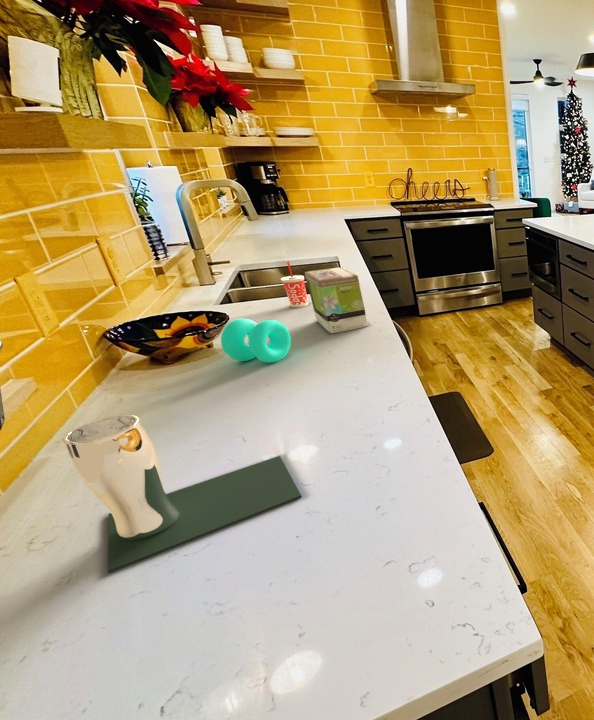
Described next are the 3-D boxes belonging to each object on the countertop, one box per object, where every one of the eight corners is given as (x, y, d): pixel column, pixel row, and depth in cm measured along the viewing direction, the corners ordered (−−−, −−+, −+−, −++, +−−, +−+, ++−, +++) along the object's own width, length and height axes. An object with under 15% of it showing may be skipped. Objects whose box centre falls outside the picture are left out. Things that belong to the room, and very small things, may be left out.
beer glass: (177, 500, 71) (135, 408, 65) (189, 522, 67) (145, 426, 61) (110, 527, 66) (57, 430, 60) (118, 552, 62) (62, 451, 56)
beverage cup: (284, 308, 155) (271, 263, 149) (295, 302, 161) (282, 259, 155) (305, 308, 155) (292, 263, 150) (315, 302, 161) (303, 259, 155)
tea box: (370, 326, 140) (358, 274, 134) (330, 335, 134) (316, 281, 128) (353, 314, 150) (342, 265, 144) (316, 321, 144) (302, 271, 138)
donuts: (261, 351, 123) (248, 312, 119) (298, 353, 122) (287, 314, 118) (226, 367, 114) (211, 326, 110) (266, 369, 113) (252, 328, 109)
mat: (109, 516, 69) (108, 513, 69) (280, 458, 82) (279, 455, 81) (109, 574, 60) (107, 571, 59) (302, 498, 72) (301, 495, 72)
